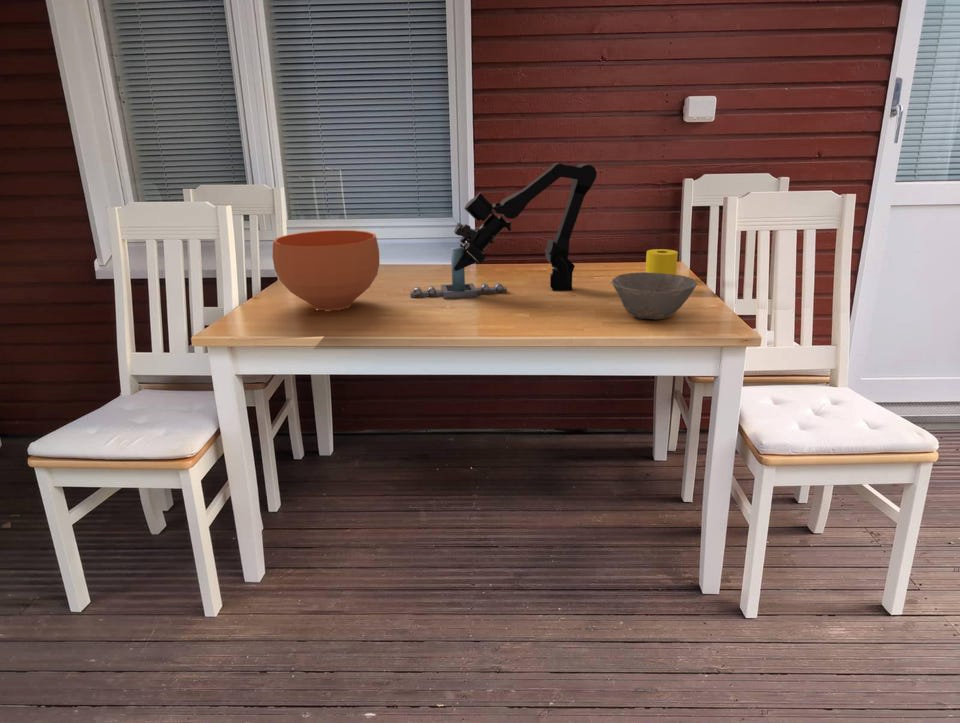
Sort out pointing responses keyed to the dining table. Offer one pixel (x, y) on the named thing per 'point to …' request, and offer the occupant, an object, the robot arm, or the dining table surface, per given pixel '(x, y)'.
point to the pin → (459, 275)
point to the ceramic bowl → (653, 293)
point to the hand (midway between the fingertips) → (453, 268)
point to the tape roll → (661, 261)
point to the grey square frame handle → (449, 293)
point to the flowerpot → (327, 265)
